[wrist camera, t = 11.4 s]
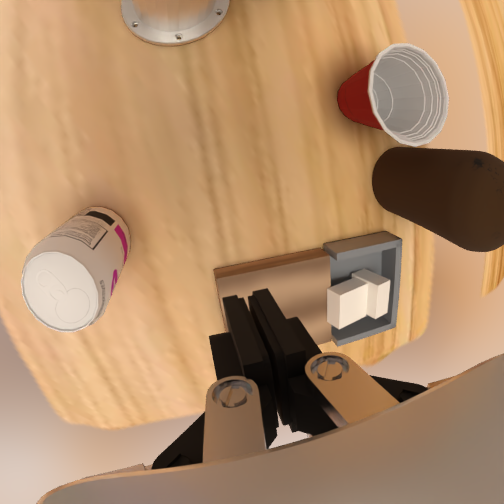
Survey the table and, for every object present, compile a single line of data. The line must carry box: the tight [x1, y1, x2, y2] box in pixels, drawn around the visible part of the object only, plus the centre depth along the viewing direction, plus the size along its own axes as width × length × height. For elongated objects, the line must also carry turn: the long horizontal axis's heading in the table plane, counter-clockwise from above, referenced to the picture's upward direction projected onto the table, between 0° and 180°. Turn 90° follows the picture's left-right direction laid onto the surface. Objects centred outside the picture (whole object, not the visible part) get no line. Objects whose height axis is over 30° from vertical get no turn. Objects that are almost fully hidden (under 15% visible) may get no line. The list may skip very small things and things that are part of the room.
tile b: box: [352, 269, 390, 319], centre depth 42 cm, size 5×5×2 cm
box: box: [323, 231, 402, 347], centre depth 43 cm, size 14×10×4 cm
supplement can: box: [21, 207, 131, 332], centre depth 29 cm, size 8×8×15 cm
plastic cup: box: [337, 43, 449, 147], centre depth 31 cm, size 11×11×12 cm
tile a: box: [327, 278, 368, 329], centre depth 41 cm, size 5×5×2 cm
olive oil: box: [373, 147, 504, 252], centre depth 30 cm, size 11×11×25 cm
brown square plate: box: [214, 248, 331, 345], centre depth 42 cm, size 13×14×3 cm
